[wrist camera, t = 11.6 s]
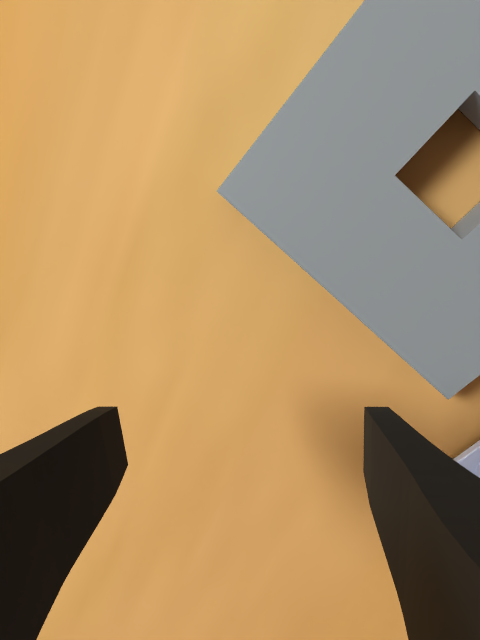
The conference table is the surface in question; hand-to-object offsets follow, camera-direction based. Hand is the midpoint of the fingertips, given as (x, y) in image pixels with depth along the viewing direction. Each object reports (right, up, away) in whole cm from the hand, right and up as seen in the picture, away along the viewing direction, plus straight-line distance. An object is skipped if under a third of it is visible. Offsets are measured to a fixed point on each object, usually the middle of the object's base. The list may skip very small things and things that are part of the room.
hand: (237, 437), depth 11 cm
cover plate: (+9, +10, +6) cm, 15 cm away
